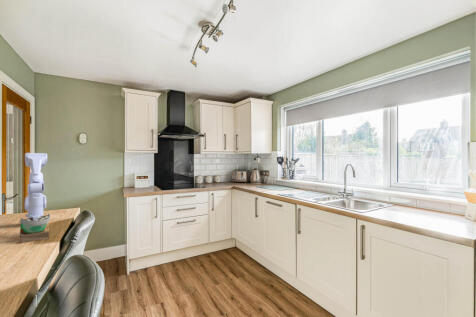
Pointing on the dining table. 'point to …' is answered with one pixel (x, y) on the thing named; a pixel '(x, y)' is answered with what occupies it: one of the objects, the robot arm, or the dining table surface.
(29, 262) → the dining table surface
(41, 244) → the dining table surface
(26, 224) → the food container
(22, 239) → the walnut bar
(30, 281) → the dining table surface
